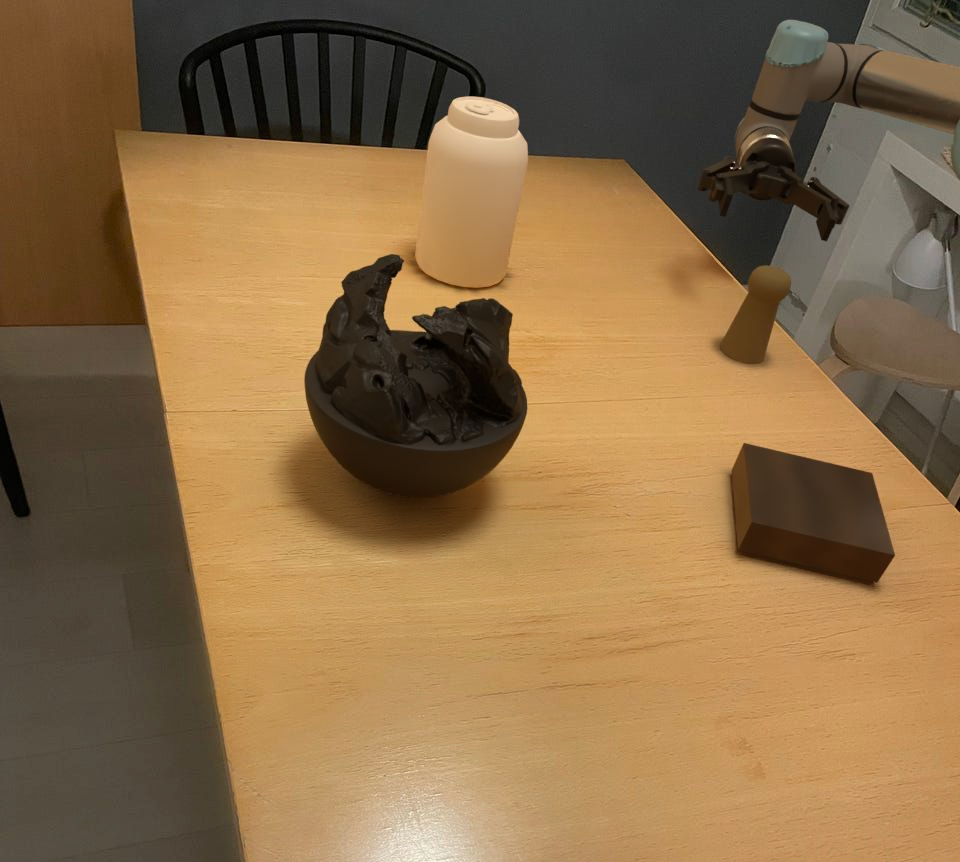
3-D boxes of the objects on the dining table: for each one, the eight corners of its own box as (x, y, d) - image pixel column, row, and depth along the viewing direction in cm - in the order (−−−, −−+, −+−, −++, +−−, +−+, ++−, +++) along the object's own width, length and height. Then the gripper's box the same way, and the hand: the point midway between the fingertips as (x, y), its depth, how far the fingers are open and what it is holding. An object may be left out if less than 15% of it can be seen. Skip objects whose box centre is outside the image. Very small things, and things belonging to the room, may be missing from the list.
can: (454, 297, 116) (480, 127, 102) (395, 255, 122) (412, 89, 108) (524, 281, 123) (557, 120, 109) (465, 242, 129) (490, 85, 115)
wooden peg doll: (711, 341, 120) (741, 259, 112) (747, 339, 122) (779, 258, 115) (736, 364, 116) (769, 282, 109) (773, 362, 119) (808, 281, 111)
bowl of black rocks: (523, 548, 83) (572, 362, 70) (301, 539, 79) (309, 340, 66) (491, 425, 97) (527, 250, 84) (300, 412, 92) (306, 226, 79)
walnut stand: (855, 502, 98) (872, 472, 95) (875, 586, 88) (895, 555, 86) (729, 473, 98) (743, 442, 95) (736, 553, 88) (751, 521, 85)
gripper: (837, 211, 134) (857, 269, 119) (674, 172, 134) (674, 224, 119) (861, 157, 129) (885, 210, 114) (691, 116, 129) (693, 164, 114)
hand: (777, 218), depth 117 cm, fingers open, 13 cm apart
